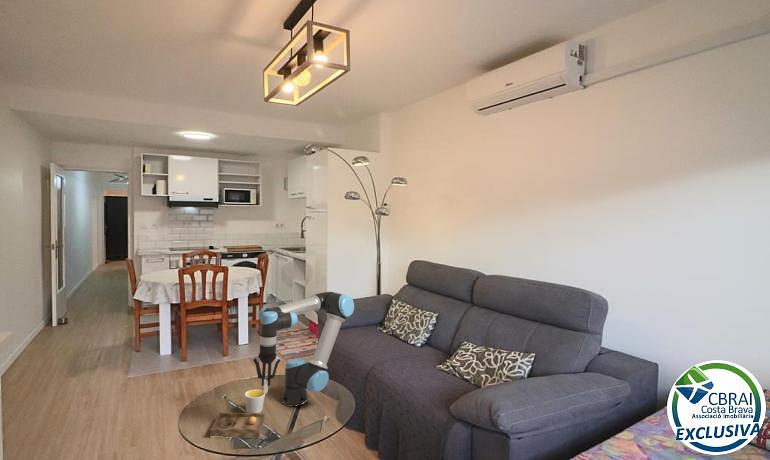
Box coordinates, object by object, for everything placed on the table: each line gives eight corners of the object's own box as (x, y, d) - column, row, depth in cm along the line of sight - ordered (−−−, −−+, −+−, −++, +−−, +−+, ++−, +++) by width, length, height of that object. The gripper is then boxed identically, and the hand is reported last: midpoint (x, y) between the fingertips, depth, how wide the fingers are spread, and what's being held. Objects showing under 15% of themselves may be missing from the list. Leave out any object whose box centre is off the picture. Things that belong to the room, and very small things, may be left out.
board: (264, 420, 212) (264, 413, 212) (258, 437, 196) (259, 429, 196) (219, 420, 209) (219, 413, 209) (209, 438, 194) (210, 429, 193)
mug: (259, 418, 214) (260, 398, 213) (240, 416, 215) (241, 396, 215) (270, 406, 227) (271, 387, 227) (252, 404, 229) (253, 385, 228)
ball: (256, 422, 206) (257, 415, 205) (255, 425, 202) (255, 418, 202) (249, 422, 205) (249, 415, 205) (247, 425, 202) (248, 418, 202)
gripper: (282, 342, 207) (280, 388, 208) (255, 341, 206) (253, 388, 207) (280, 347, 200) (278, 395, 201) (252, 346, 198) (250, 395, 199)
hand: (265, 392), depth 204 cm, fingers closed
